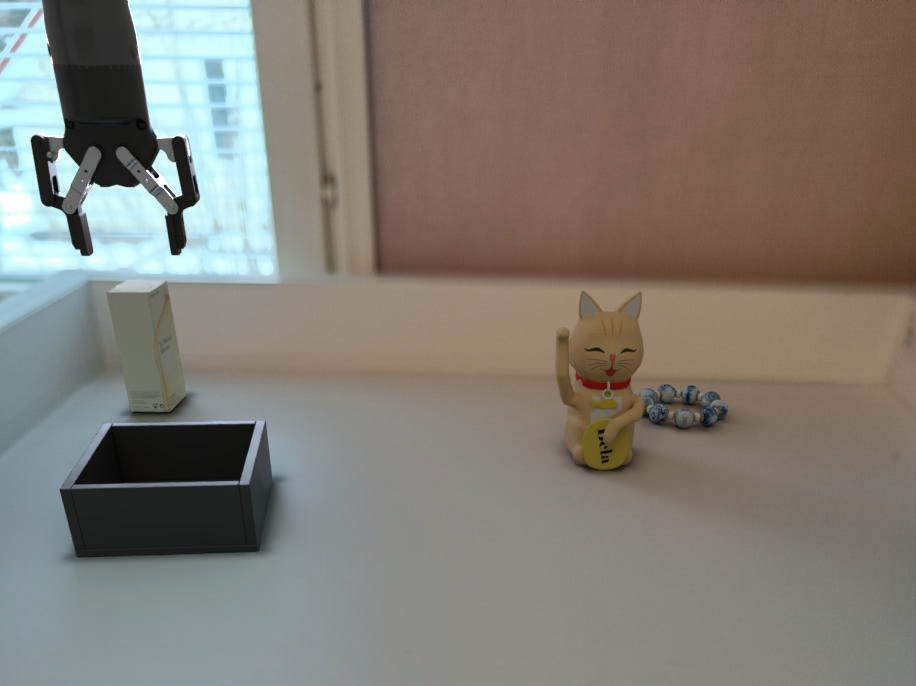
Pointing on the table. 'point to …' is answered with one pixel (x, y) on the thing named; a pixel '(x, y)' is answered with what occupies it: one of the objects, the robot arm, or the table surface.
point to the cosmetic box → (147, 344)
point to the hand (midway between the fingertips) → (132, 254)
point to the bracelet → (683, 416)
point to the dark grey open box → (170, 489)
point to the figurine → (601, 382)
